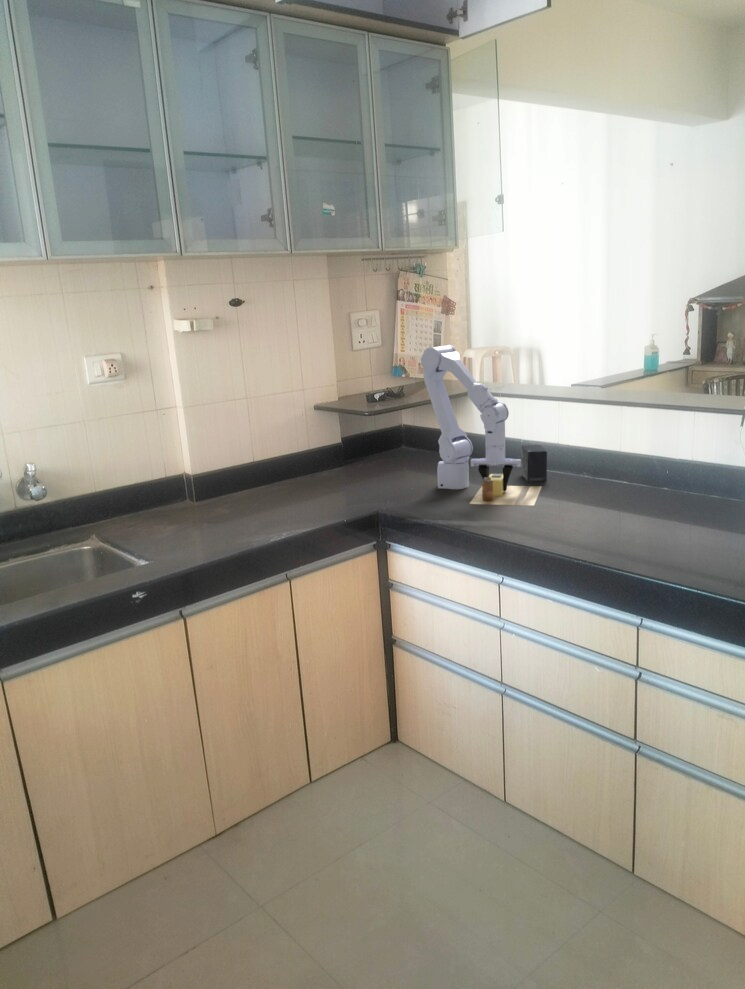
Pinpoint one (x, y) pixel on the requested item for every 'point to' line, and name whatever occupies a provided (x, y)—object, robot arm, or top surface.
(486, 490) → the brown jar
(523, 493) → the plywood panel
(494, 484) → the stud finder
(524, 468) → the small box
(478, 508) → the top surface
